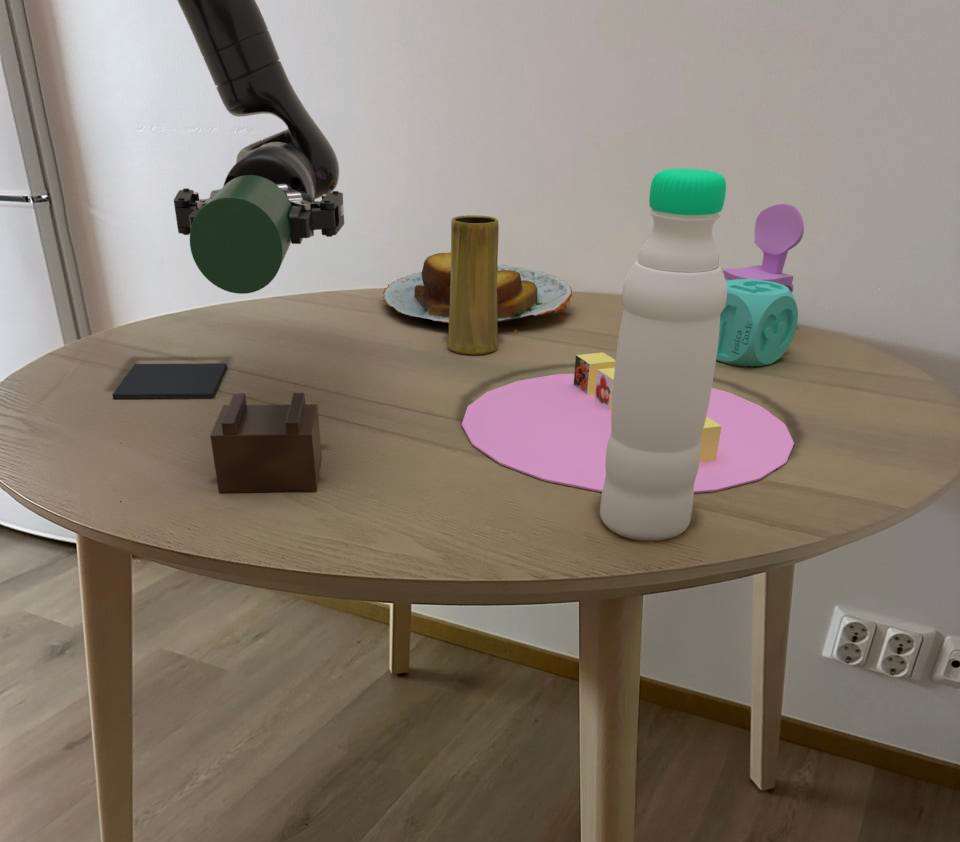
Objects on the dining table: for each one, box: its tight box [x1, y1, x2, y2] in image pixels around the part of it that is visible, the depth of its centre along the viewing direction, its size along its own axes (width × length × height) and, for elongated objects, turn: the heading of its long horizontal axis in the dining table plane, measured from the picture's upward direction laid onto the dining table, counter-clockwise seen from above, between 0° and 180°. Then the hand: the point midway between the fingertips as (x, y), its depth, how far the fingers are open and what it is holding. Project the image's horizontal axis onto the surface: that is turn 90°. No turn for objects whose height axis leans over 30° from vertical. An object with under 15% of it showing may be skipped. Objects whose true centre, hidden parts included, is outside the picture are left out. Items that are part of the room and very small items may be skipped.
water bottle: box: [599, 167, 727, 542], centre depth 66 cm, size 7×7×25 cm
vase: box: [446, 214, 500, 356], centre depth 107 cm, size 6×6×14 cm
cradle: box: [209, 392, 323, 494], centre depth 77 cm, size 8×7×6 cm
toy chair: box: [722, 203, 805, 294], centre depth 114 cm, size 8×9×15 cm
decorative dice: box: [716, 279, 799, 368], centre depth 108 cm, size 8×8×8 cm
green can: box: [189, 175, 292, 295], centre depth 70 cm, size 6×11×6 cm, turn 5°
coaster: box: [111, 362, 228, 400], centre depth 98 cm, size 10×10×1 cm
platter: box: [461, 351, 795, 494], centre depth 89 cm, size 32×32×3 cm
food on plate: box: [382, 252, 573, 333], centre depth 124 cm, size 25×25×7 cm
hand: (248, 228), depth 71 cm, fingers closed on green can, 6 cm apart
